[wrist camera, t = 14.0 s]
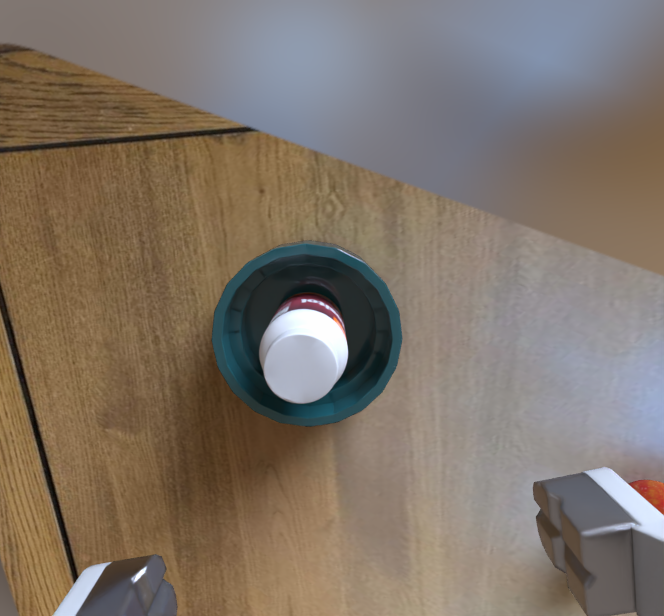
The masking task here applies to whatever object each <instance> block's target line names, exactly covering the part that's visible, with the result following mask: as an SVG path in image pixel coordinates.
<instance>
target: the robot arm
mask: <svg viewBox="0 0 664 616" xmlns="http://www.w3.org/2000/svg"><path fill="white" fill-rule="evenodd" d="M533 495H534V500H535V501H536V503H537V504H538V505H539V507H540V508H541V509H540V511H539V513H538V515H537V516H536V521H537V527H538V532H539V536H540V539H541V542H542V545H543V547H544V549H545V551H546V553H547V555H548V557H549V559H550V560H551V562H552V563H553V565H554V566H555V567H556V568H557V569H559V570H561V571H563V572H564V573H566V576H567V585H568V588H569V589H570V591H571V592H572V594H573V596H574V597H575V599H576V600H577V602H578V603H579V605H580V606H581V608H582V609H583V611H584V612H585V614H586V615H587V616H611V615H618V614H625V613H631V612H637V615H638V616H664V515H663V514H662V513H660V512H659V511H658V510H657V509H656V508H655V507H654V506H652V505H651V504H650V503H649V502H648V501H647V500H646V499H645V498H643V497H642V496H641V495H640V494H639V493H638V492H637V491H635V490H634V489H633V488H632V487H631V486H630V485H629V484H627V483H626V482H625V481H624V480H623V479H622V478H621V477H619V476H618V475H617V474H616V473H615V472H614V471H613V470H611V469H609V468H607V467H602V468H598V469H593V470H588V471H584V472H581V473H578V474H573V475H567V476H562V477H557V478H552V479H547V480H542V481H537V482H534V485H533ZM166 569H167V568H166V566H165V563H164V561H163V558H162V556H159V555H156V554H155V555H149V556H143V557H137V558H131V559H125V560H119V561H113V562H109V563H103V564H97V565H92V566H90V567H88V568H86V569H85V570H83V572H82V573H81V575H80V576H79V578H78V579H77V581H76V582H75V584H74V585H73V587H72V588H71V589H70V591H69V592H68V594H67V595H66V597H65V598H64V600H63V601H62V603H61V604H60V606H59V607H58V608H57V610H56V611H55V613H54V614H53V616H177V600H176V594H175V591H174V588H173V586H172V585H171V584H170V583H168V582H167V581H165V580H164V579H163V577H164V574H165V572H166Z"/></svg>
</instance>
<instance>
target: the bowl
mask: <svg viewBox="0 0 664 616" xmlns="http://www.w3.org/2000/svg"><path fill="white" fill-rule="evenodd" d="M303 292H313V293H318V294H321V295H324V296H326V297H327V298H329V299H330V300H331V301H333V302H334V303H335V304H336V306H337V307H338V308H339V310H340V312H341V314H342V317H343V320H344V326H345V333H346V340H347V346H348V359H347V364H346V367H345V370H344V372H343V374H342V375H341V377H340V378H339V380H338V381H337V382H336V383H335V384H334V385H333V387H332V389H331V390H330V391H329V392H328V393H327V394H326V395H325V396H323V397H322V398H320V399H319V400H316V401H314V402H310V403H305V404H297V403H291V402H288V401H285V400H283V399H281V398H280V397H278V396H277V395H276V394H275V393H274V392H273V391H272V390H271V389H270V388H269V386H268V384H267V382H266V380H265V377H264V371H263V369H262V367H261V363H260V357H259V349H260V343H261V340H262V337H263V335H264V333H265V330H266V329H267V327H268V325H269V324H270V322H271V320H272V318H273V316H274V315H275V313H276V311H277V309H278V308H279V306H280V305H281V304H282V303H283V302H284V301H285V300H286V299H288V298H289V297H291V296H293V295H295V294H298V293H303ZM212 344H213V349H214V353H215V357H216V362H217V366H218V368H219V370H220V372H221V374H222V375H223V377H224V378H225V380H226V382H227V383H228V385H229V387H230V388H231V390H232V392H233V393H234V394H235V395H236V396H238V397H239V398H240V399H241V400H242V401H243V402H244V403H246V404H247V405H248V406H249V407H250V408H251V409H252V410H254V411H255V412H257V413H259V414H261V415H264V416H266V417H268V418H270V419H272V420H275V421H277V422H279V423H284V424H292V425H299V426H306V427H308V426H309V427H311V426H317V425H324V424H330V423H336V422H339V421H341V420H343V419H345V418H348V417H350V416H352V415H354V414H356V413H358V412H360V411H362V410H363V409H364V408H366V407H367V406H368V405H369V404H370V403H371V402H372V401H373V400H374V399H375V398H376V397H377V396H379V395H380V394H381V393H382V392H383V390H384V388H385V387H386V385H387V383H388V381H389V380H390V378H391V376H392V374H393V373H394V371H395V369H396V366H397V364H398V359H399V354H400V349H401V344H402V331H401V323H400V315H399V310H398V308H397V306H396V304H395V302H394V299H393V297H392V295H391V293H390V291H389V289H388V287H387V285H386V284H385V282H384V281H383V280H382V279H381V278H380V277H379V275H378V274H377V273H376V272H375V271H374V270H373V269H372V268H371V267H370V266H369V265H368V264H367V263H366V262H365V261H364V260H363V259H362V258H361V257H360V256H358V255H356V254H354V253H352V252H350V251H348V250H346V249H344V248H342V247H340V246H338V245H335V244H331V243H325V242H319V241H312V240H305V241H298V242H292V243H286V244H281V245H279V246H277V247H275V248H273V249H271V250H269V251H267V252H265V253H263V254H262V255H260V256H258V257H256V258H254V259H253V260H251V261H249V262H248V263H247V264H246V265H245V266H244V267H243V268H242V269H241V270H240V271H239V272H238V273H237V274H236V275H235V276H234V277H233V278H232V279H231V280H230V281H229V283H228V284H227V285H226V287H225V289H224V292H223V294H222V296H221V298H220V300H219V302H218V305H217V307H216V309H215V312H214V320H213V330H212Z"/></svg>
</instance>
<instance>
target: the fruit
mask: <svg viewBox="0 0 664 616" xmlns="http://www.w3.org/2000/svg"><path fill="white" fill-rule="evenodd" d="M629 485H630V486H631V487H632V488H633V489H634V490H635V491H637V492H638V493H639V494H640V495H641V496H642V497H643V498H645V499H646V500H647V501H648V502H649V503H650V504H651V505H652V506H654V507H655V508H656V509H657V510H658V511H659V512H660V513H662V514H663V515H664V483H661V482H657V481H652V480H639V481H635V482H632V483H629Z"/></svg>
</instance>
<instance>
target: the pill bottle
mask: <svg viewBox="0 0 664 616" xmlns="http://www.w3.org/2000/svg"><path fill="white" fill-rule="evenodd" d="M259 357H260V363H261V367H262V369H263V371H264V377H265V380H266V382H267V384H268V386H269V388H270V389H271V390H272V391H273V392H274V393H275V394H276V395H277V396H278V397H280V398H281V399H283V400H285V401H288V402H291V403H297V404H305V403H310V402H314V401H316V400H319V399H320V398H322V397H323V396H325V395H326V394H327V393H328V392H329V391H330V390H331V389H332V387H333V385H334V384H335V383H336V382H337V381H338V380H339V378H340V377H341V375H342V374H343V372H344V370H345V367H346V364H347V359H348V346H347V340H346V333H345V326H344V320H343V317H342V314H341V312H340V310H339V308H338V307H337V306H336V304H335V303H334V302H333V301H331V300H330V299H329V298H327V297H326V296H324V295H321V294H318V293H313V292H303V293H298V294H295V295H293V296H291V297H289V298H288V299H286V300H285V301H284V302H283V303H282V304H281V305H280V306H279V308H278V309H277V311H276V313H275V315H274V316H273V318H272V320H271V322H270V324H269V325H268V327H267V329H266V330H265V333H264V335H263V337H262V340H261V343H260V349H259Z"/></svg>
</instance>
